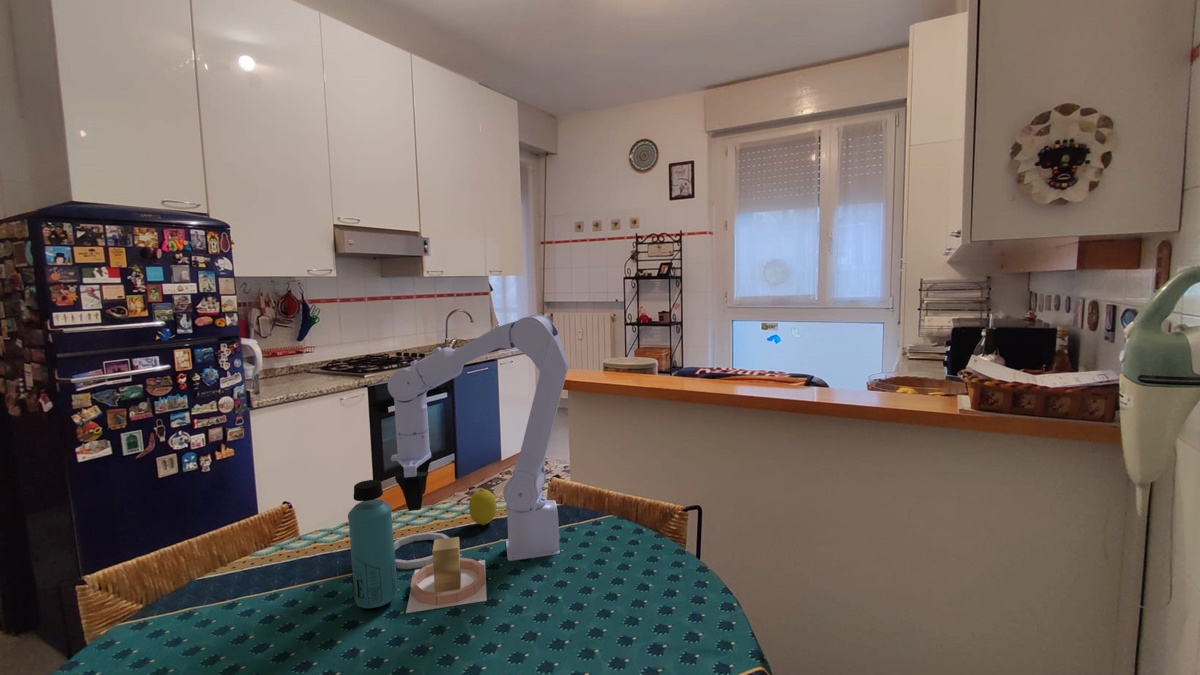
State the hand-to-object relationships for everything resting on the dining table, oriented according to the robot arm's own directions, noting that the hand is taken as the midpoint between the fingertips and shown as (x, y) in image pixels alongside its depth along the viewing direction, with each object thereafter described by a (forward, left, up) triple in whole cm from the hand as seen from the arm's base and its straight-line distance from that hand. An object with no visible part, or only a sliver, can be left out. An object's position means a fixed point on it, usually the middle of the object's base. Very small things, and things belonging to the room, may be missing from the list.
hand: (417, 501), depth 102 cm
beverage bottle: (+5, +18, -10) cm, 21 cm away
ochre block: (-6, +15, -9) cm, 18 cm away
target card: (-6, +15, -9) cm, 19 cm away
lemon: (-12, -7, -10) cm, 17 cm away
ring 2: (-6, +15, -9) cm, 18 cm away
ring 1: (0, +2, -9) cm, 10 cm away
